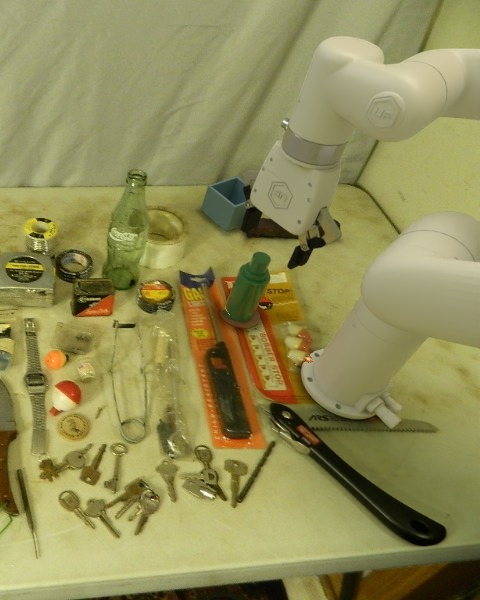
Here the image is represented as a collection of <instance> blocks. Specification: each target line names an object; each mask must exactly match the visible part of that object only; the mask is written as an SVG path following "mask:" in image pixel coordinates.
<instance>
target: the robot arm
mask: <svg viewBox="0 0 480 600" xmlns="http://www.w3.org/2000/svg"><path fill="white" fill-rule="evenodd" d="M304 77H305V78H304V80H303V83H302V86H301V88H300V91H299V93H298V96H297V99H296V102H295V104H294V107H293V110H292V114H291V116H290V118H288V117H286V118H283V120H282V121H281V123H280V128H282V129H284V133H283V137H282V138H280V139H277V140H276V142H275V143H274V145H273V146H272V148H271V149H270V151H269V152H268V154H267V156H266V158H265V159H264V161H263V163H262V165H261V167H260V169H248V170H246V171H243V173H242V180H243V182H244V187H243V192H244V195H245V198H246V201H245V207H246V208H247V209H246V212H245V215H244V218H243V223H242V226H240V231H241V232H243V233H246V231H249V230H251V229H254V228H256V227H257V226H258V224H259V222H260V219H261V218H262V216H263V214H264V215H265V216H266V217H267V218H269V219H272V220H273V221H275V222H276V223H277V224H279V225H280V226H281V227H283V228H284V229H286V230H287V231H289V232H290V233H292V234H294V235H298V237H297V238H298V242H299V245H296V246H295V247H294V249H293V252H292V254H291V256H290V258H289V261H288V263H287V266H286V267H287V268H288V269H289V270H294V269H296V268H298V267H303V266H305V265H307V263H308V261H309V260H310V259H311V258H310V257H311V256H312V254H313V252H314V250H316V249H321V248H323V247H326V246H328V245H330V244H332V243H333V242H335V241H337V240H338V239H340V238H342V237H343V233H342V231H341V230H340V229H341V228H340V229H339V228H338V226H337V225H336V223H335V221H334V220H333V219H334V218H333V216H332V215H331V213H330V212H329V210H330V208H331V206H332V203H333V201H334V197H335V195H336V192H337V188H338V185H339V182H340V178H341V174H342V167H343V163H342V162H340V160H341V158H342V156H343V154H344V152H345V150H346V148H347V145H348V143H349V141H350V139H351V137H352V135H353V132H354V131H355V128H356V129H357V130H359V131H361V132H362V133H363V134H365V135H367V136H368V137H369V138H370V137H371V138H372V139H374V140H376V141H380V142H384V143H400V142H403V141H406V140H409V139H411V138H413V137H414V136H416V135H418V134H419V133H420V132H421V131H423V130H424V129H425V128H426V127H428V126H430V125H431V124H432V123H433V122H435V121H436V120H437V119H439V118H450V119H451V118H452V119H464V120H465V119H466V120H473V121H480V48H463V47H462V48H460V47H459V48H456V47H455V48H454V47H453V48H448V47H447V48H435V49H428V50H424V51H421V52H418V53H416V54H414V55H412V56H410V57H408V58H405V59H404V60H403V61H402V60H401V62H398V63H397V62H396V63H390V64H387V63H385V55H384V52H383V50H382V49H381V48H380V47H379V46H378V45H376V44H375V43H373V42H371V41H369V40H366V39H363V38H360V37H354V36H347V35H336V36H331V37H328V38H326V39H324V40H322V41H321V42H320V43H319V44H318V45H317V47H316V49H315V50H314V53H313V55H312V58H311V61H310V63H309V66H308V69H307V72H306V74H305V76H304ZM319 226H321V227H322V229H323V230H324V232H325V234H324V236H323V237H320V235H319V230H318V227H319ZM307 231H309V235H310V239H309V238H308V234H307ZM429 338H432V339H436V340H440V341H444V342H449V343H453V344H458V345H462V346H466V347H471V348H474V349H475V348H476V349H480V220H478V219H476V218H475V217H473V216H471V215H469V214H467V213H463V212H460V211H453V210H452V211H451V210H449V211H448V210H445V211H438V212H433V213H430V214H427V215H424V216H422V217H420V218H419V219H416V220H415V221H413V222H412V223H410V225H408V226H407V227H406V228H405V229H404V230H403V231H401V233H399V234H398V235H397V236H396V237H395V238H394V239H393V240H392V241H391V242H390V243H389V245H388V246H387V247H386V248H384V250H382V251H381V252H380V253H379V254H378V255H377V257H375V258H374V260H373V261H372V262H371V263H370V264H369V265H368V267H367V268H366V270H365V271H364V273H363V275H362V278H361V281H360V296H359V297H358V298H357V300H356V302H355V303H354V304H353V305H352V307H351V309H350V310H349V312H348V313H347V315H346V316H345V318H344V320H343V321H342V323H341V325H340V326H339V327H338V329H337V330H336V332H335V333H334V335H333V336H332V338H331V339H330V341H329V342H328V344H327V345H326V347H325V348H321V349H317V350H314V351H312V352H311V353H309V354H310V356H311V357H312V359H313V362H311V363H310V362H309V363H308V362H304V361H303V363H302V365H301V368H300V378H301V381H302V385H303V387H304V388H305V390H306V392H307V393H308V395H309V396H310V397H311V398H312V399H313V400H314V401H315V402H316V403H317V404H319V406H321V407H322V408H323V409H325V410H327V411H328V412H330V413H332V414H334V415H335V416H339V417H342V418H345V419H351V420H365V419H369V418H372V417H374V416H377V417H378V418H379V419H380V420H381V421H382V422H383V424H385V426H387V428H389V429H390V430H393V428H395V427H397V425H399V424H400V423H401V421H402V419H401V418H400V417H399V416H398V415H397V414H399V413H400V412H401V411H402V410H403V409H404V407H403V405H401V404H400V403H399V402H398V401H397V400H395V399H394V398H392V397H391V393H390V392H389V391H390V390H391V389H392V388H393V387H394V386H395V384H394V382H392V380H393V378H394V377H395V376H396V375H397V374H398V372H400V370H401V369H402V368H403V367H404V366H405V365H406V364H407V362H408V361H409V360H410V359H411V358H412V356H413V355H414V354H415V353H416V352H417V351H418V350H419V348H420V347H421V346H422V345H423V344H424V343H425V342H426V341H427V340H428V339H429ZM386 406H387V407H386Z"/></svg>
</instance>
